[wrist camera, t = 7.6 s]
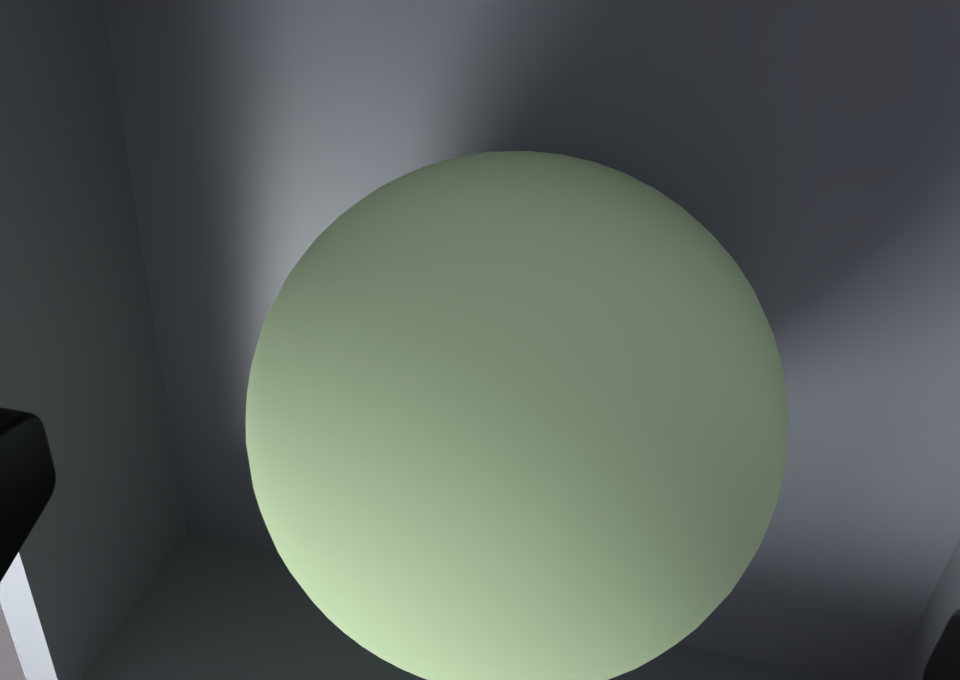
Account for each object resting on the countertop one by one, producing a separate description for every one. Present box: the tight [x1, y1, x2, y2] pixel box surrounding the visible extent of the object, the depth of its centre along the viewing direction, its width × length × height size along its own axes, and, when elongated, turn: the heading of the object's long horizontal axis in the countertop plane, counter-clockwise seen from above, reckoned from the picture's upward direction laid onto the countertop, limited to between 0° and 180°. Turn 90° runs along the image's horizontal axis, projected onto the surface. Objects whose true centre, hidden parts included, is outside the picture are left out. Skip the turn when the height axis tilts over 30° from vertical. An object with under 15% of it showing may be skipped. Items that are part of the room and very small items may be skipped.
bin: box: [0, 0, 960, 680], centre depth 12 cm, size 14×14×4 cm
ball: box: [246, 151, 789, 680], centre depth 10 cm, size 6×6×6 cm
